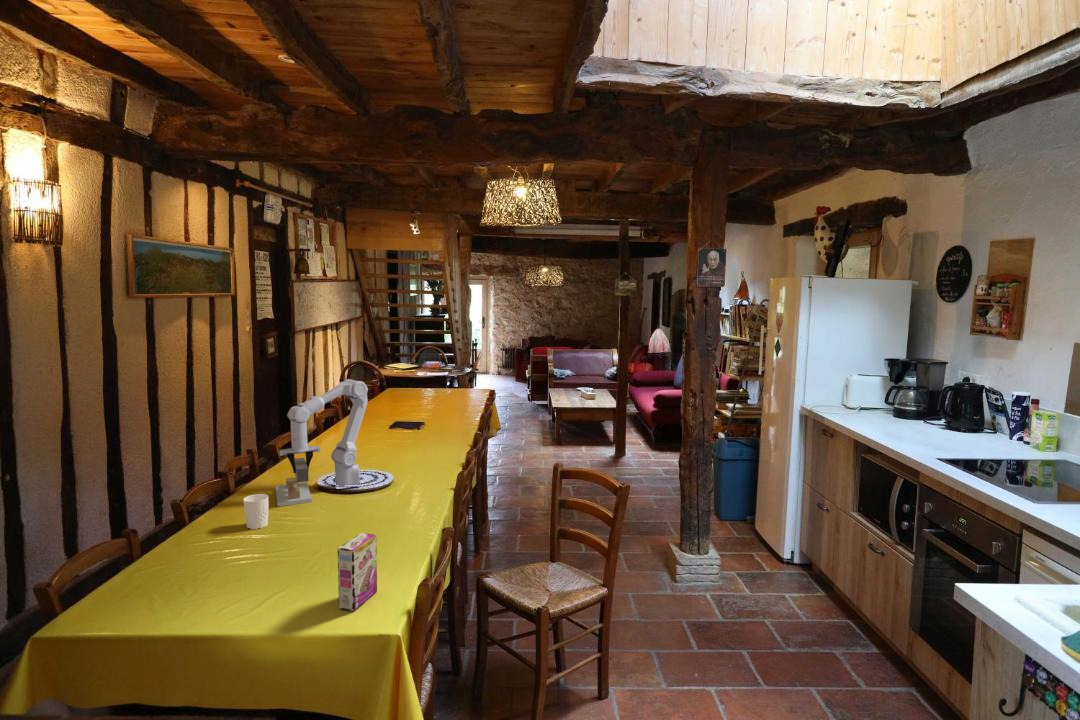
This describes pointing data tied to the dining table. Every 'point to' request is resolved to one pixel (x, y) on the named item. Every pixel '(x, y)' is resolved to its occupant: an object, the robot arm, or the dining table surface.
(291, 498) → the display stand
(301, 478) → the gray rectangular block
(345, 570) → the candy bar box
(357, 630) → the dining table surface
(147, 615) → the dining table surface
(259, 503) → the white cup
